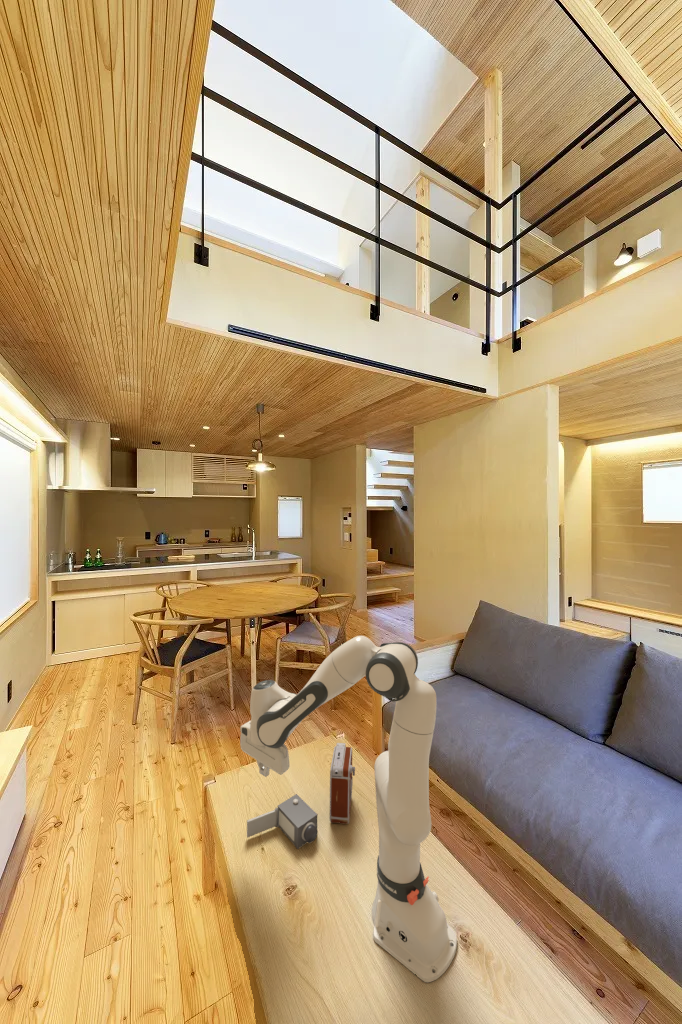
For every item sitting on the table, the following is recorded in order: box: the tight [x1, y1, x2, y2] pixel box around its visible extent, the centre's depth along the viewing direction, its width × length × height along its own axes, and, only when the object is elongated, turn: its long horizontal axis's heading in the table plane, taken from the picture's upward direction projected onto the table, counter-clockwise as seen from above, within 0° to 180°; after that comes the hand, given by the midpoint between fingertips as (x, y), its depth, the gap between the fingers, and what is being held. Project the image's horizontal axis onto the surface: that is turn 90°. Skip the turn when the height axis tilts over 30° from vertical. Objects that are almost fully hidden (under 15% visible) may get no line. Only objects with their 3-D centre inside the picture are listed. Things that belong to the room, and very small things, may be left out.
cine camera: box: [329, 742, 356, 825], centre depth 139 cm, size 9×19×20 cm, turn 174°
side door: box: [246, 807, 279, 838], centre depth 126 cm, size 10×1×6 cm, turn 118°
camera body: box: [277, 793, 319, 850], centre depth 127 cm, size 14×8×8 cm, turn 42°
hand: (264, 774), depth 121 cm, fingers closed
